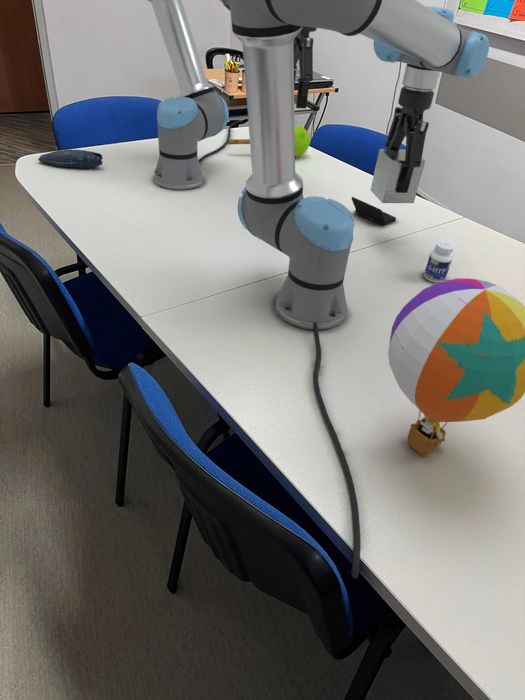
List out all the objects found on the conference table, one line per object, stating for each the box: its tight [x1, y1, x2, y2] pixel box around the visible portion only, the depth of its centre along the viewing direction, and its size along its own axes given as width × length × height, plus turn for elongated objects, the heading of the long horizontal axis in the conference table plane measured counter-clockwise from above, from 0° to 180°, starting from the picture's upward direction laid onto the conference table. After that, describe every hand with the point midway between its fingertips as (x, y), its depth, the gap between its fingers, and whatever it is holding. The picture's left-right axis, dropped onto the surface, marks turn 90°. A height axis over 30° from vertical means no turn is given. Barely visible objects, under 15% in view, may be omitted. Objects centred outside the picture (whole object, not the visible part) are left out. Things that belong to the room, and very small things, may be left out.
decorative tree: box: [227, 125, 311, 157], centre depth 186 cm, size 18×10×30 cm
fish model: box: [37, 149, 104, 170], centre depth 166 cm, size 7×21×5 cm, turn 84°
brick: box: [370, 148, 426, 204], centre depth 131 cm, size 8×9×11 cm
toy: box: [387, 278, 525, 458], centre depth 75 cm, size 20×20×30 cm
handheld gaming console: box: [351, 196, 397, 226], centre depth 151 cm, size 12×7×10 cm
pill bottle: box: [423, 240, 454, 284], centre depth 125 cm, size 5×5×9 cm
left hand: (294, 101), depth 146 cm, fingers open, 13 cm apart
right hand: (394, 185), depth 132 cm, fingers closed on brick, 8 cm apart
